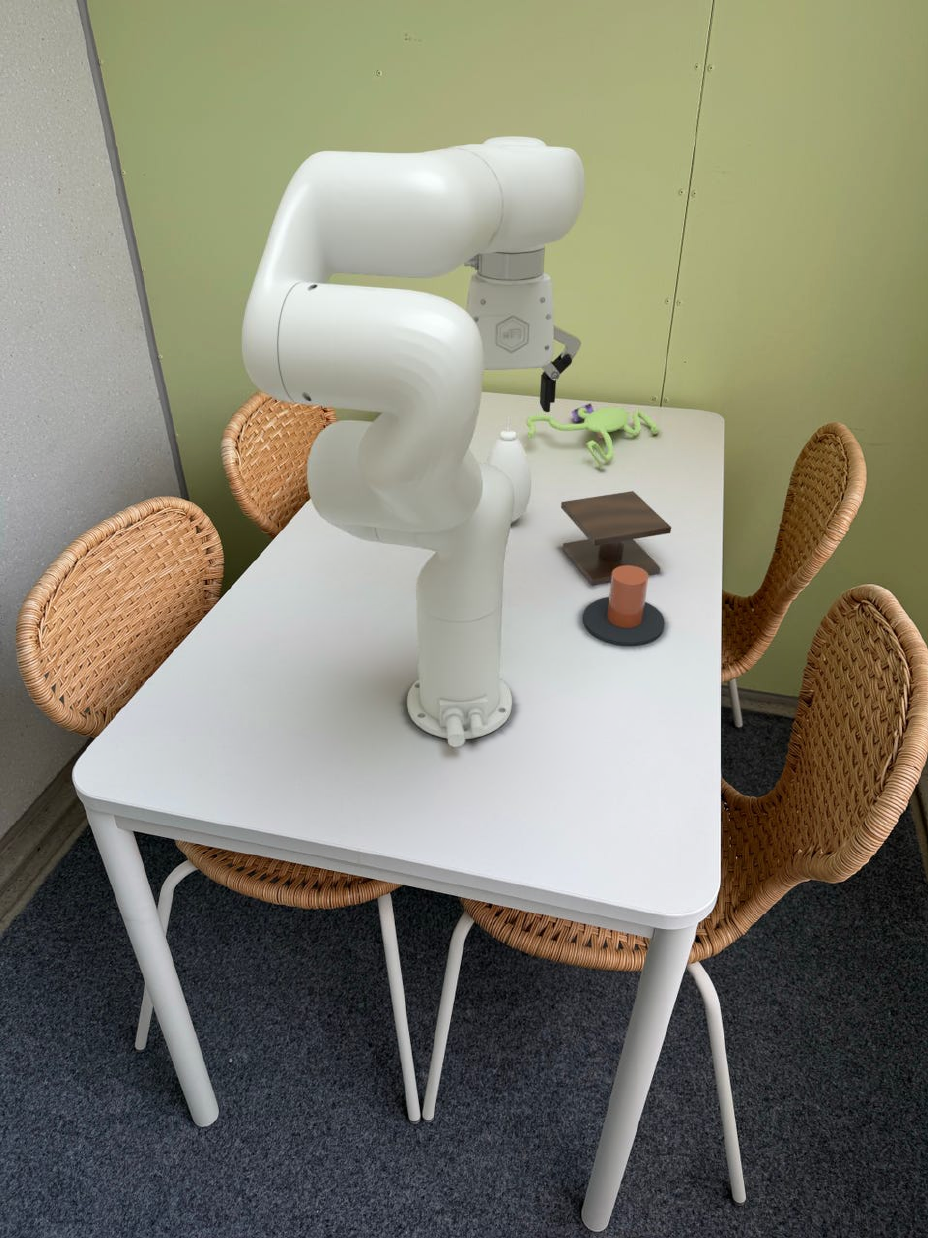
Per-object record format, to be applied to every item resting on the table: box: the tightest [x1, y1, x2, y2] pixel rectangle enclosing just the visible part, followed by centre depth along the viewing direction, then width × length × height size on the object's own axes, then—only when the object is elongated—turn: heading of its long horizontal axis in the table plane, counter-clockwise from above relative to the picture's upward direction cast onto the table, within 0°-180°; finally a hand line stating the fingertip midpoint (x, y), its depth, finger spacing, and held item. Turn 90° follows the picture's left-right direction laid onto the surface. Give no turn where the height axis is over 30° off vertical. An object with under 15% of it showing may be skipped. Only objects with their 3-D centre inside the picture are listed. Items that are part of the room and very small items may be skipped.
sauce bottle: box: [485, 416, 532, 524], centre depth 137 cm, size 8×8×18 cm
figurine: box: [525, 402, 660, 470], centre depth 167 cm, size 18×27×6 cm
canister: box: [607, 565, 650, 628], centre depth 117 cm, size 5×5×7 cm
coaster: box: [582, 596, 666, 647], centre depth 119 cm, size 11×11×1 cm
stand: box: [560, 490, 672, 586], centre depth 130 cm, size 12×12×8 cm
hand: (506, 409), depth 107 cm, fingers open, 9 cm apart
